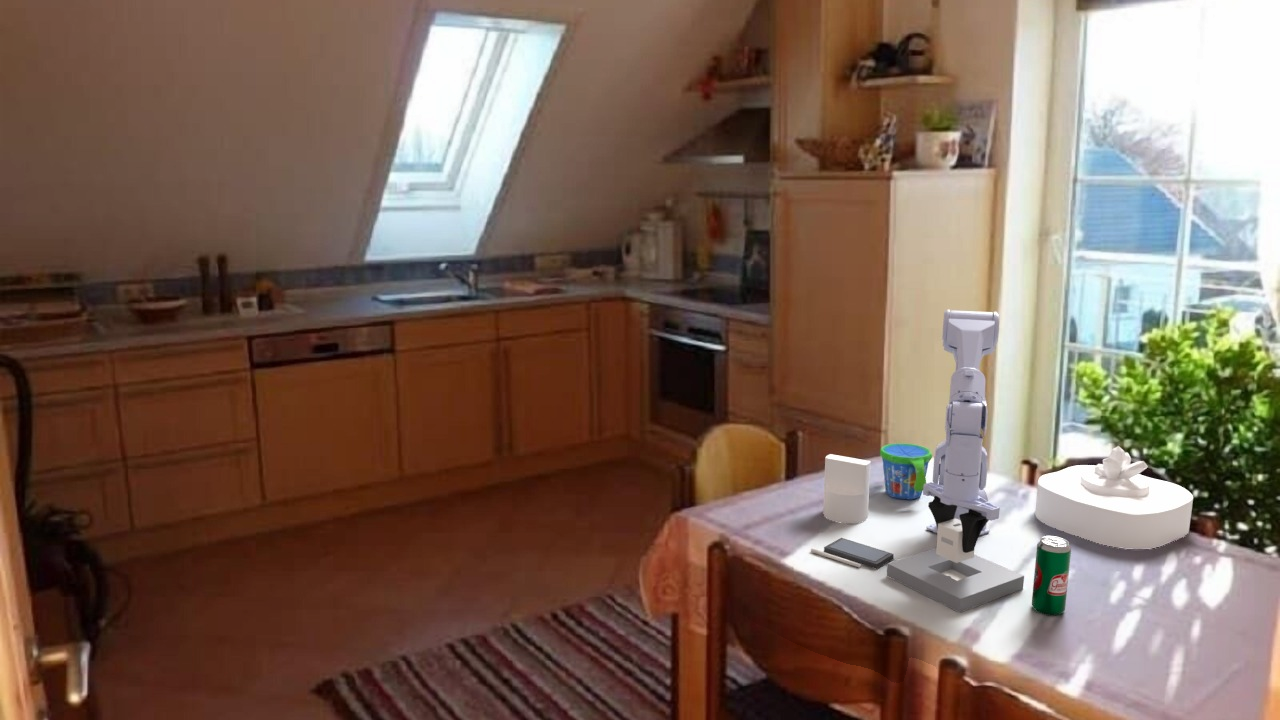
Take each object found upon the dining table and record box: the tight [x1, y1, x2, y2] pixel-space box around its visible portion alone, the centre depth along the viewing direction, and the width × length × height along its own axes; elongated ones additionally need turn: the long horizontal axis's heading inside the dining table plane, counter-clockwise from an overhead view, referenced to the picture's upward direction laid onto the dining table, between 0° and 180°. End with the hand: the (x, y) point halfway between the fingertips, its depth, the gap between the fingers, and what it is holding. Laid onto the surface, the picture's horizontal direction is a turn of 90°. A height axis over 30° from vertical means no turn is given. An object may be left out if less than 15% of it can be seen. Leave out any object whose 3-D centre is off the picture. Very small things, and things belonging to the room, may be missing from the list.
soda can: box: [1031, 535, 1072, 616], centre depth 157 cm, size 5×5×12 cm
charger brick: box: [935, 518, 975, 563], centre depth 166 cm, size 4×4×6 cm
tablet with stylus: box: [810, 537, 894, 570], centre depth 179 cm, size 8×13×1 cm, turn 47°
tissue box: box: [1034, 445, 1194, 549], centre depth 193 cm, size 25×25×16 cm
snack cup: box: [879, 442, 933, 501], centre depth 209 cm, size 16×10×10 cm
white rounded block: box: [822, 453, 872, 524], centre depth 197 cm, size 9×9×12 cm
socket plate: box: [886, 547, 1025, 613], centre depth 168 cm, size 16×16×2 cm
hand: (956, 546), depth 166 cm, fingers closed on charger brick, 4 cm apart
